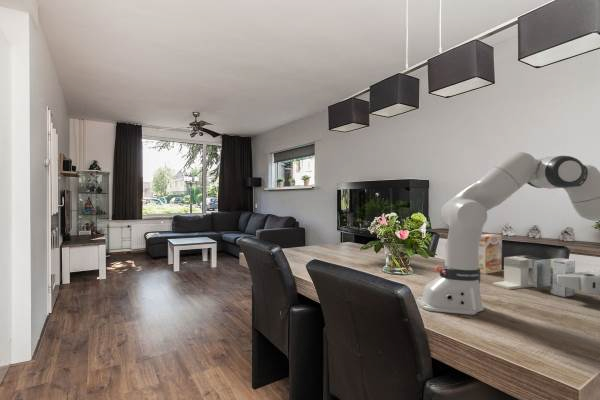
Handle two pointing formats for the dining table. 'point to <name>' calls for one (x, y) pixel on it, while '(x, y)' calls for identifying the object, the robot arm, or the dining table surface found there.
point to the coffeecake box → (490, 253)
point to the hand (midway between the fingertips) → (560, 274)
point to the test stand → (517, 273)
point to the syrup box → (561, 268)
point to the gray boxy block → (541, 271)
